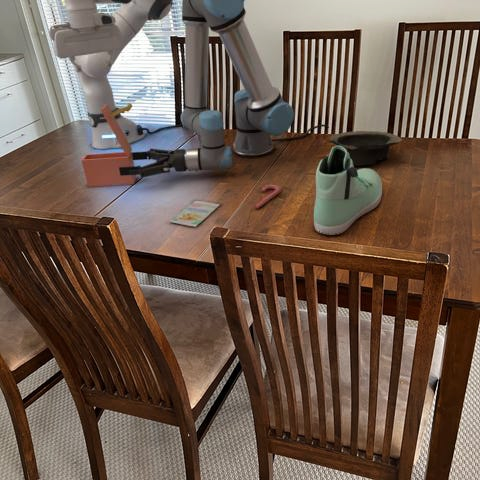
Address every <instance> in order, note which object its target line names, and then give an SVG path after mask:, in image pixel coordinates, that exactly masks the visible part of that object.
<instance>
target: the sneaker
mask: <svg viewBox="0 0 480 480" xmlns="http://www.w3.org/2000/svg"><path fill="white" fill-rule="evenodd" d="M317 165H318V166H317V168H316V172H315V201H314V207H313V225H314V229H315V231H316V232H318V233H320V234H323V235H326V236H327V235H328V236H336V235H339V234H342V233H344V232H345V231H347V230H348V229H349V228H350V227H351V226H352V225H353V224H354V222H356V221H357V220H358V219H359V218H360V217H362V216H363V215H365V214H367V213H370V212H372V210H374V209H375V208H377V207H378V205H380V203H381V200H382V196H383V184H382V183H383V182H382V179H381V176H380V175H379V173H378V172H377V171H376V170H374V169H372V168H367V167H365V168H358V169H357V168H355V167H354V166H355V165H353V161H352V159H350V156H349V153H348V152H347V150H346V149H345V148H344V147H342V146H338V145H334V146H333V147H331V149H330V151H329V154H327V155H326V156H325V157H324V158H322V159H321V160H320V161H319V163H318V164H317ZM343 230H344V231H343ZM319 231H320V232H319ZM322 232H323V233H322ZM339 232H340V233H339ZM326 233H327V234H326ZM328 233H329V234H328ZM335 233H337V234H335Z"/></svg>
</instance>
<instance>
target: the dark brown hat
mask: <svg viewBox="0 0 480 480" xmlns="http://www.w3.org/2000/svg"><path fill="white" fill-rule="evenodd" d="M402 141H403V138H401V137H400V136H398V135H396V134H394V133H389V132H386V131H385V132H384V131H377V130H376V131H374V130H356V131H355V130H354V131H345V132H341V133H337V134H332V135H331V136H329V140H328V143H331V144H333V145H334V146H342V147H344V148H345V149H346V150H347V152H348V153H349V156H350V159H352V161H353V166H355V167H364V166H373V165H375V164H376V163H377V161H386V160H387V159H388V158H389V155H390V148H391V147H392V146H395V145H398V144H399V143H401V142H402Z"/></svg>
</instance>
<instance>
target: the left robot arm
mask: <svg viewBox="0 0 480 480" xmlns="http://www.w3.org/2000/svg"><path fill="white" fill-rule="evenodd" d="M173 2H174V1H173V0H64V10H65V11H64V12H65V15H66V18H67V22H66V21H65V22H62V23H53V24H52V25H51V26H50V27H49V29H48V33H49V37H50V39H51V41H52V44H53V51H54V54H55V56H56V57H57V58H59V59H60V60H62V59H68V60H69V62H70V63H71V64H72V65H73V66H74V69H75V72H76V74H77V78H78V81H79V84H80V86H81V89H82V92H83V96H84V100H85V104H86V108H87V118H88V122H89V125H90V127H91V128H90V129H91V137H92V138H91V140H92V141H91V147H92V148H94V149H98V150H107V149H122V147H121V145H120V143H119V142H118V140H117V138H116V136H115V134H114V133H113V131H112V129H111V127H110V125H109V124H108V122H107V120H106V118H105V117H104V115H103V113H102V111H101V109H102V108H103V107H104V106H105V105H106V104H108V106H109V108H110V110H111V111H112V112H114V111H116V110H118V109H121V108H122V107H117V106H116V103H115V97H114V94H113V88H112V86H111V84H110V81H109V78H108V76H107V75H108V74H109V73H110V72H111V71H112V67H113V65H114V64H115V63H116V60H117V59H118V57H119V56H120V55H121V53H122V52H123V50H124V49H125V48H126V47H127V46H128V44H129V43H130V42H131V41H132V40H133V39H134V38H135V37H136V36H137V35H138V34H139V33H140V31H141V30H142V28H143V27H144V26H145V24H146V23H147V22H148V21H152V20H153V21H161V20H163V19H164V18H165V17H167V16H168V14H170V12H171V10H172V8H173ZM108 4H110V5H111V4H121V5H120V6H119V7H117V9H116V10H115V11H114V12H113V13H112V14H107V13H105V12H99V11H98V8H97V7H98V6H97V5H108ZM125 112H126V111H125ZM125 112H123V113H120V114H118V115H116V116H114V117H115V119H116V121H117V122H118V124H119V126H120V128H121V130H122V131H123V133H124V135H125V137H126V139H127V141H128V142H129V144H130V145H131V144H132V143H135V142H137V141H139V140H141V139H143V138H145V137H146V135H145V133H144V131H146V133H147V134H149V135H152V134H156V133H158V132H160V131H163V130H168V129H175V128H180V127H185V126H184V125H183V123H181V124H175V125H167V126H163V127H160V128H158V129H156V130H154V131H150V130H149V128H147V127H143V126H142V125H141V124H136V123H135V122H134V121H133V120H131V119H129V118H127V117H125V116H123V115H122V114H125Z"/></svg>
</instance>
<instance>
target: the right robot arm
mask: <svg viewBox="0 0 480 480" xmlns="http://www.w3.org/2000/svg"><path fill="white" fill-rule="evenodd" d="M181 2H182V3H181V6H182V7H181V23H183V24H184V29H185V30H184V33H185V35H184V36H185V37H184V38H185V39H184V40H185V41H184V55H185V56H184V57H185V58H184V60H185V61H184V64H185V65H184V74H185V75H184V97H185V98H184V109H183V110H182V112H181V113H180V121H181V124H183V125H184V126H183V127H185V128H186V129H187V130H189V131H190V132H193V133H195V134H196V135H198V136H199V137H200V139H201V146H202V147H192V148H191V147H189V148H187V149H185V148H181V149H180V148H179V149H178V148H176V149H173V150H167V149H159V148H149V150H146V151H131V152H132V156H133V161H144V160H147V161H149V160H152V161H153V160H154V162H152V163H149V164H145V165H143V166H141V165H139V164H138V165H134V166H131V167H119V171H120V176H123V175H136V176H138V175H139V176H140V178H142V179H143V178H147V177H151V176H157V175H160V174H167V173H170V172H171V169H172V168H173V169H174V170H175V171H176V173H181V172H182V173H183V172H187V171H188V172H196V173H197V172H199V171H217V170H218V171H221V170H226V169H231V168H232V166H233V153H234V154H235V155H237V156H239V157H243V158H258V157H263V156H266V155H269V154H271V153H272V152H273V151H274V142H282V141H289V140H298V139H302V138H305V137H307V136H308V135H309V133H310V132H311V131H313V130H315V129H318V128H321V127H322V128H323V127H324V128H326V129H329V128H330V126H328V125H327V124H323V123H322V124H318V125H315V126H313V127H310V128H308V129H307V131H306V132H305V133H304V134H302V135H298V136H291V137H282V138H274V139H272V137H271V136H273V137H279V136H283V135H284V134H285V133H286V132H288V131H289V129H290V128H291V127H292V124H293V122H294V117H295V112H294V109H293V107H292V105H291V104H289V103H288V102H286V101H284V99H283V96H282V94H281V91H280V90H279V88H278V87H275V86H273V85H272V83H271V80H270V78H269V76H268V73H267V71H266V68H265V66H264V64H263V62H262V59H261V57H260V55H259V52H258V50H257V47H256V45H255V43H254V40H253V38H252V36H251V34H250V31H249V29H248V27H247V24H246V22H245V16H246V14H247V11H246V9H245V2H246V1H245V0H182V1H181ZM210 31H211V32H213V33H216V34H218V36H219V37H220V40H221V42H222V45H223V46H224V49H225V51H226V53H227V55H228V57H229V59H230V61H231V63H232V66H233V67H234V69H235V72H236V74H237V76H238V77H239V80H240V82H241V84H242V86H243V89H240V90H238V91H236V92H235V93H234V112H235V122H236V124H235V125H236V134H235V138H234V141H233V144H232V146H233V151H232V147H231V146H229V145H226V142H225V129H224V121H223V115H222V112H221V111H220V110H217V109H216V110H214V109H208V79H209V78H208V77H209V40H210V39H209V38H210Z"/></svg>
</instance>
